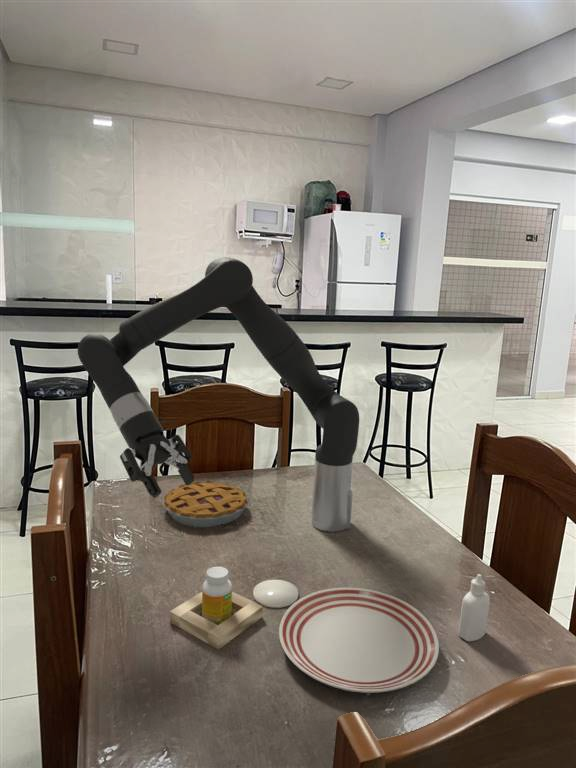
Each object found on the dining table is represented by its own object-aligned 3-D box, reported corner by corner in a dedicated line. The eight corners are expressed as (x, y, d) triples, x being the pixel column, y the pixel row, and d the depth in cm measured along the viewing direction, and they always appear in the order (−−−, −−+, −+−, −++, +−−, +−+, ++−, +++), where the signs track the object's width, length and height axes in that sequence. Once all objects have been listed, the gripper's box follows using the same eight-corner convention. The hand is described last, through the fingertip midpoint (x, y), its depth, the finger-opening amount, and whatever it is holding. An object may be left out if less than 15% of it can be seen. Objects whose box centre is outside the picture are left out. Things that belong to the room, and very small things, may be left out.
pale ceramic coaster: (294, 581, 122) (294, 578, 122) (302, 606, 113) (302, 603, 113) (251, 583, 121) (251, 580, 120) (255, 609, 112) (255, 606, 112)
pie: (147, 507, 155) (147, 489, 153) (217, 488, 169) (217, 472, 167) (191, 539, 138) (191, 519, 137) (264, 515, 152) (264, 498, 151)
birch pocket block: (214, 593, 116) (215, 583, 116) (262, 616, 110) (262, 606, 109) (169, 622, 107) (169, 611, 106) (218, 649, 100) (218, 638, 100)
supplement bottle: (226, 630, 105) (227, 581, 103) (197, 626, 106) (198, 577, 104) (234, 613, 110) (236, 566, 108) (207, 608, 111) (208, 562, 109)
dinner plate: (402, 734, 84) (404, 714, 84) (247, 660, 98) (247, 642, 98) (457, 635, 107) (459, 619, 106) (325, 586, 121) (326, 572, 120)
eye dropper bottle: (452, 627, 109) (459, 568, 106) (481, 626, 110) (488, 568, 107) (462, 642, 105) (469, 582, 102) (492, 641, 105) (499, 581, 103)
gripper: (115, 416, 110) (156, 490, 106) (172, 404, 121) (210, 470, 117) (98, 437, 114) (136, 509, 110) (154, 423, 126) (191, 488, 121)
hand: (174, 489), depth 114 cm, fingers open, 8 cm apart
